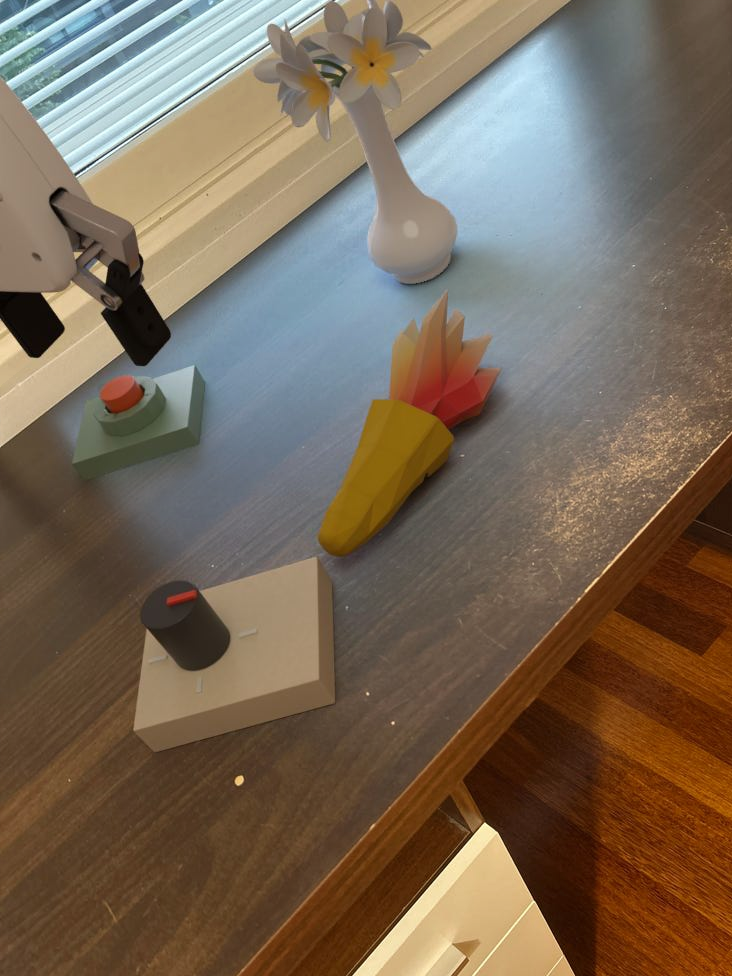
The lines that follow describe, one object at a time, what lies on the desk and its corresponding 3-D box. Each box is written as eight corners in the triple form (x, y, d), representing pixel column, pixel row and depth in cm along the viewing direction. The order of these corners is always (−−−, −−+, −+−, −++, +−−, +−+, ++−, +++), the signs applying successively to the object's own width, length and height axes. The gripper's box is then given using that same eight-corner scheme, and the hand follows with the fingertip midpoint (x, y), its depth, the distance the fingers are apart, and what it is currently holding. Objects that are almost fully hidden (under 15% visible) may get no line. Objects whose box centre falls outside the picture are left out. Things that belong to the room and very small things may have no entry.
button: (107, 419, 97) (97, 404, 95) (112, 396, 99) (102, 381, 98) (142, 407, 96) (132, 393, 95) (145, 385, 99) (136, 370, 97)
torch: (357, 596, 83) (474, 366, 92) (411, 584, 77) (531, 338, 86) (276, 538, 79) (407, 303, 88) (326, 520, 73) (461, 270, 82)
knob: (173, 677, 73) (134, 633, 70) (177, 632, 76) (140, 586, 72) (229, 662, 73) (193, 615, 69) (232, 616, 76) (197, 569, 72)
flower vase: (381, 227, 112) (285, -21, 93) (522, 236, 103) (446, -37, 84) (313, 299, 107) (197, 52, 88) (455, 316, 97) (359, 43, 79)
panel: (154, 753, 74) (131, 729, 71) (168, 629, 81) (148, 604, 79) (335, 703, 72) (318, 677, 69) (332, 581, 79) (316, 554, 77)
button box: (84, 480, 98) (60, 450, 95) (98, 417, 104) (75, 386, 101) (199, 444, 96) (177, 411, 93) (205, 382, 103) (185, 349, 100)
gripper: (-234, 123, 54) (-24, 378, 67) (-30, 101, 46) (164, 397, 59) (-135, 51, 58) (46, 307, 71) (71, 19, 50) (234, 315, 62)
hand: (100, 348), depth 65 cm, fingers open, 9 cm apart
